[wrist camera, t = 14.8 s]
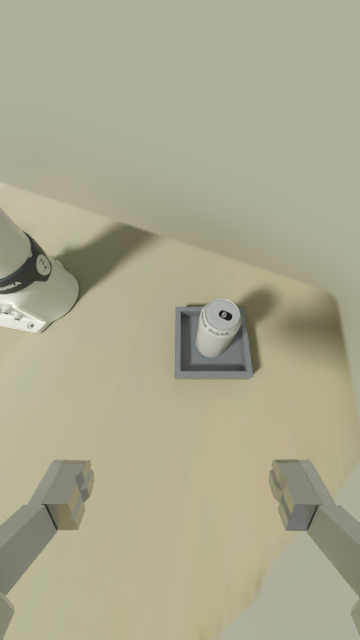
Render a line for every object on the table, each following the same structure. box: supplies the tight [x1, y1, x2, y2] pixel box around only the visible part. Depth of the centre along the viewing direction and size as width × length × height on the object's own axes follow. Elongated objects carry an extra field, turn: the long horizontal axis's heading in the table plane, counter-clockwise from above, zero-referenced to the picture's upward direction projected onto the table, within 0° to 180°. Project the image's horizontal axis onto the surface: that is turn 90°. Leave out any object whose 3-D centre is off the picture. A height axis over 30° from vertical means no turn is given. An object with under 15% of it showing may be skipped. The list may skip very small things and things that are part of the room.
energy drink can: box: [196, 298, 241, 358], centre depth 35 cm, size 6×6×15 cm
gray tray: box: [175, 307, 253, 379], centre depth 41 cm, size 14×14×4 cm
